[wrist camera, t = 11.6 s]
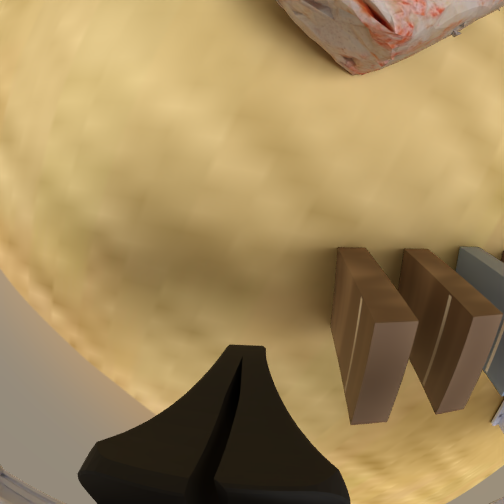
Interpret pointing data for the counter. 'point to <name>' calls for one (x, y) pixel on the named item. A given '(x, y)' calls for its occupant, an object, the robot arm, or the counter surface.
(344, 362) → the domino
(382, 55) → the food item
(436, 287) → the domino
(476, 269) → the placed domino
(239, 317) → the counter surface
